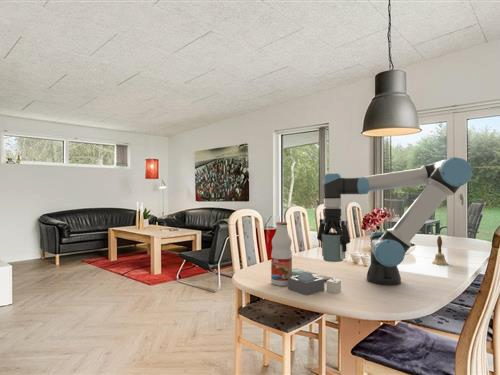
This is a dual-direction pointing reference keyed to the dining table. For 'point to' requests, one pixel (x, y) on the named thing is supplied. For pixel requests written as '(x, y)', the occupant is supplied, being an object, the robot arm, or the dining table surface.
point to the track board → (298, 271)
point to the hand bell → (439, 254)
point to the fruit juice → (281, 256)
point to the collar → (306, 285)
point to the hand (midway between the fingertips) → (333, 257)
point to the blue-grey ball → (305, 276)
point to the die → (333, 285)
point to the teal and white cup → (331, 247)
